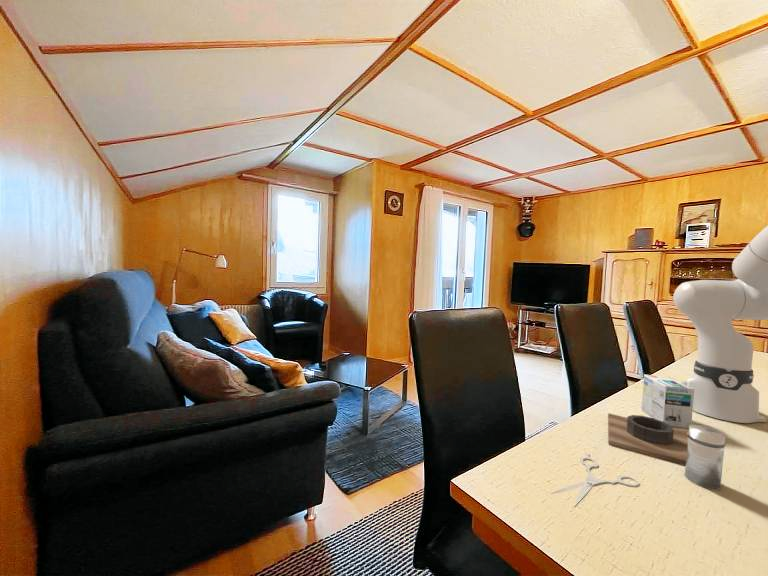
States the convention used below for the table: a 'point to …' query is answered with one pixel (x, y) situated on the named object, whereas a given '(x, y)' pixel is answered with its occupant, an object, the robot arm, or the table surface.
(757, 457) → the table surface
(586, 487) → the scissors
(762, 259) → the robot arm
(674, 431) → the ring collar board
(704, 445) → the cylinder
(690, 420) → the light bulb box
